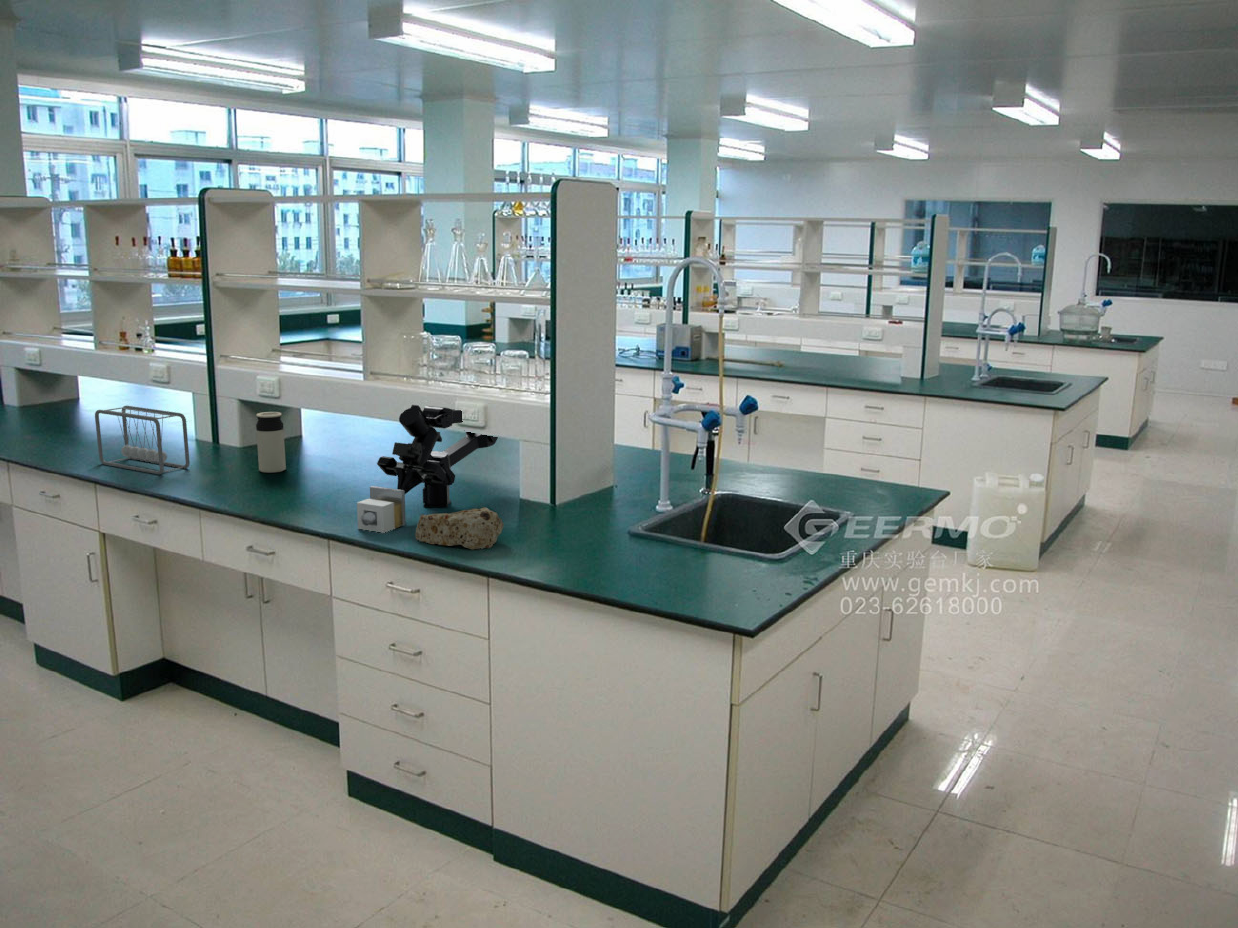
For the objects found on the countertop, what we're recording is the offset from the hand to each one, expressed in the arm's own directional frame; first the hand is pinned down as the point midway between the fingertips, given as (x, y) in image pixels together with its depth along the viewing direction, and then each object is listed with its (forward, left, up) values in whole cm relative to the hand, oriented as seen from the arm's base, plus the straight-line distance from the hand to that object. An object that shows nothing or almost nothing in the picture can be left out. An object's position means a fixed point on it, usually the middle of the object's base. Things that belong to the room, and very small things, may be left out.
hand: (398, 496), depth 260 cm
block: (+4, +9, -6) cm, 11 cm away
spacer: (+2, +6, -6) cm, 9 cm away
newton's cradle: (+95, -52, -7) cm, 108 cm away
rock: (-20, +16, -7) cm, 26 cm away
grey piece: (+3, +8, -6) cm, 11 cm away
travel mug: (+54, -51, -7) cm, 74 cm away
